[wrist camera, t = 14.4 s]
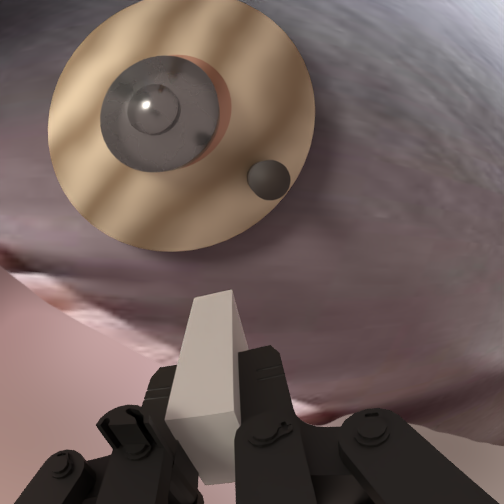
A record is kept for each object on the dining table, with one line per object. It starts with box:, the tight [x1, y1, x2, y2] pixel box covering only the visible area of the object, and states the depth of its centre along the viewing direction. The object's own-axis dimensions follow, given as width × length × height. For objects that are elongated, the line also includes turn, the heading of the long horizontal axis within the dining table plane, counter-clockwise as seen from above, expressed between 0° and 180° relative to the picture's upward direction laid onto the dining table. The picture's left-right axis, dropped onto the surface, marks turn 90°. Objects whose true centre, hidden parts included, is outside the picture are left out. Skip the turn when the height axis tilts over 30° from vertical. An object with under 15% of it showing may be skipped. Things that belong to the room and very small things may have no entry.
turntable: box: [48, 0, 315, 252], centre depth 24 cm, size 26×26×7 cm
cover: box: [100, 55, 220, 172], centre depth 23 cm, size 10×10×4 cm
